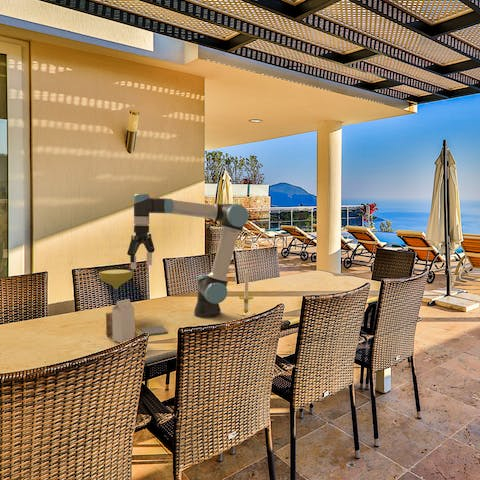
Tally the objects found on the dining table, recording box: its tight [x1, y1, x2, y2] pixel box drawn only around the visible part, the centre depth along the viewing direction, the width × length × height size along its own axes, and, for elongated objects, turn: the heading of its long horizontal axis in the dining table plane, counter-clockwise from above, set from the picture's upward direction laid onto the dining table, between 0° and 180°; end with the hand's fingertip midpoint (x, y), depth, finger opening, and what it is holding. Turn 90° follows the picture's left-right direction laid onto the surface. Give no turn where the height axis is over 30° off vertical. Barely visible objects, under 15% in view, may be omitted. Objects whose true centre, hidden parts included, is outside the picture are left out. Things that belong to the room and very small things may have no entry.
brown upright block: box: [105, 312, 113, 338], centre depth 201 cm, size 13×5×11 cm, turn 114°
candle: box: [238, 268, 255, 313], centre depth 240 cm, size 10×10×27 cm
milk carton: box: [112, 298, 136, 344], centre depth 192 cm, size 7×7×19 cm
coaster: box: [140, 324, 169, 336], centre depth 207 cm, size 11×11×1 cm
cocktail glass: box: [98, 267, 134, 305], centre depth 233 cm, size 18×18×25 cm
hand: (141, 266), depth 211 cm, fingers open, 13 cm apart
